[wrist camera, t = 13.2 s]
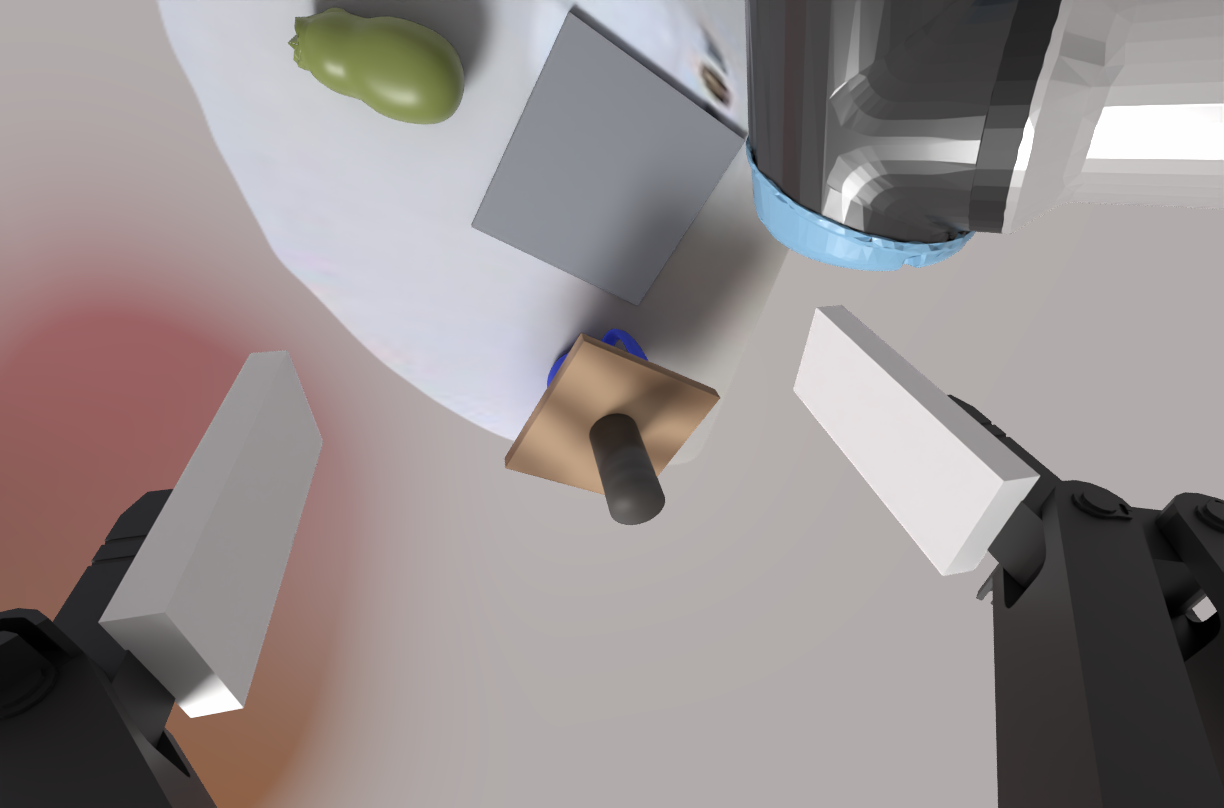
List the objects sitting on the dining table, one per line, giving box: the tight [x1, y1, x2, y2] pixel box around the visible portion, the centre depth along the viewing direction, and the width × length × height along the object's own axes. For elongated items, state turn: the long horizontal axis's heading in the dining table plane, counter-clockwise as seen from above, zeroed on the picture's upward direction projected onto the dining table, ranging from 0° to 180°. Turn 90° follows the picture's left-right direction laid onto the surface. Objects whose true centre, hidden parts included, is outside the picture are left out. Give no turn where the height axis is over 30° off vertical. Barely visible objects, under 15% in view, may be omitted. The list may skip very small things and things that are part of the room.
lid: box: [505, 333, 720, 525], centre depth 42 cm, size 13×13×9 cm
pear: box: [288, 7, 464, 124], centre depth 34 cm, size 6×5×10 cm
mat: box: [472, 12, 745, 306], centre depth 43 cm, size 16×16×1 cm
